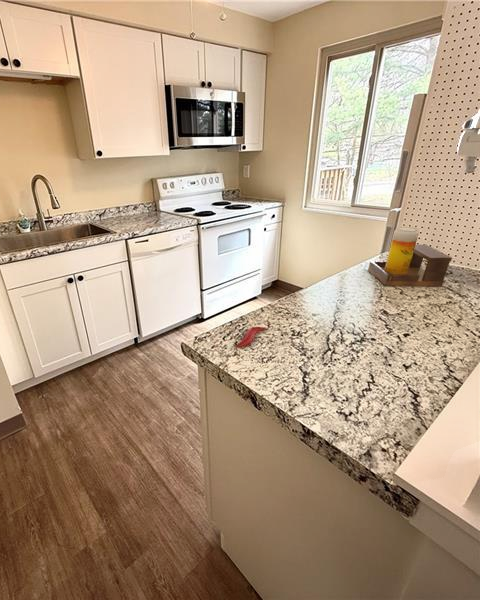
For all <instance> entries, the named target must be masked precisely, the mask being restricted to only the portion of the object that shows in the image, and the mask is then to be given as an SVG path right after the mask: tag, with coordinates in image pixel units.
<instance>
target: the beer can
mask: <svg viewBox="0 0 480 600" xmlns="http://www.w3.org/2000/svg"><path fill="white" fill-rule="evenodd" d="M419 235H420V232H419V228H417V227H413V226H412V227H411V226H399V227H396V229H395V230H394V231H393V234H392V237H391V238H392V239H391V242H390V247H389V251H388V255H387V258H386V261H387V262H386V266H385V271H386V272H387V273H388V274H389V275H405V274H407V273H408V269H409V266H410V262H411V259H412V255H413V252H414V248H415V245H417V241H418V238H419Z"/></svg>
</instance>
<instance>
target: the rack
mask: <svg viewBox="0 0 480 600" xmlns="http://www.w3.org/2000/svg"><path fill="white" fill-rule="evenodd" d="M423 260H426V261H427V262H426V265H425V269H424V268H422V267H421V266H422V264H423ZM452 260H453V257H451V256H450V255H448V254H447V253H444V252H443V251H440V250H438V249H436V248H434V247H432V246H430V245H428V244H416V245H415V248H414V252H413V255H412V259H411V262H410V266H409V269H408V273H407V274H405V275H389V274H388V273H387V272H386V271H385V266H386V262H387V260H375V261H373V260H370V261H369V265H368V269H367V271H368V272H369V273H370V274H371V275H372V276H374V277H375V278H376V279H377V280H378V281H379V282H380V283H381V284H383V285H384V286H387V287H389V286H390V287H442V286H443V283H444V280H445V278H446V274H447V272H448V269H449V265H450V263H451V262H452Z"/></svg>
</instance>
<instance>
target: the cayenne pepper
mask: <svg viewBox="0 0 480 600" xmlns="http://www.w3.org/2000/svg"><path fill="white" fill-rule="evenodd" d="M266 330H267V329H266V328H265V327H262V326H252V327H250V328H247V330H246V333H245V336H244V337H243V339H242V340H241V341H239V343H237V344H236V345H235V348H244V347H247V346H250V345H251V344H252V343H253V342H254V340H255V337H256V335H257V333H259V332H262V331H266Z"/></svg>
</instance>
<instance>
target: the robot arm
mask: <svg viewBox="0 0 480 600" xmlns="http://www.w3.org/2000/svg"><path fill="white" fill-rule="evenodd" d="M462 129H463V130H464V131H463V132H462V133H461V136H460V138H459V142H458V146H457V150H456V152H457V156H458V157H465V158H464V167H465V168H464V169H463V173H464V174H473V173H474V172H476V171H475V170H476V167H477V166H476V165H475V161H477V159H478V158H480V109H479V110H478V113H477V114H475V115H474V116H472V117H471V118H469V119H467V120H466V121H464V123H463V125H462Z"/></svg>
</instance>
